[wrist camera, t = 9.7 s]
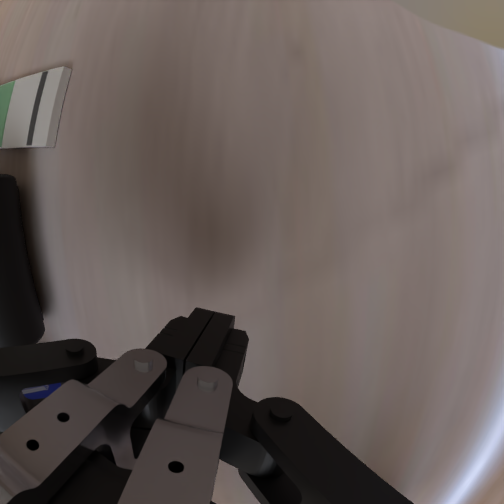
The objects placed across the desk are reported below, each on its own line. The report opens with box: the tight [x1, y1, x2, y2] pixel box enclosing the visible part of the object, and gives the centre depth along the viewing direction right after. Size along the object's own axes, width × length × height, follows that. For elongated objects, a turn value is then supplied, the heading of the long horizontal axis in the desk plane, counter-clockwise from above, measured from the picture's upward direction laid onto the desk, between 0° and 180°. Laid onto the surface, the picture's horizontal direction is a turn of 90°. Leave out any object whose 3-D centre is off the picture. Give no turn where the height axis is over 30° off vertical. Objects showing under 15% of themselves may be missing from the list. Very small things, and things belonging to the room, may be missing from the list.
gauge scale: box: [0, 66, 72, 149], centre depth 13 cm, size 12×5×1 cm, turn 80°
